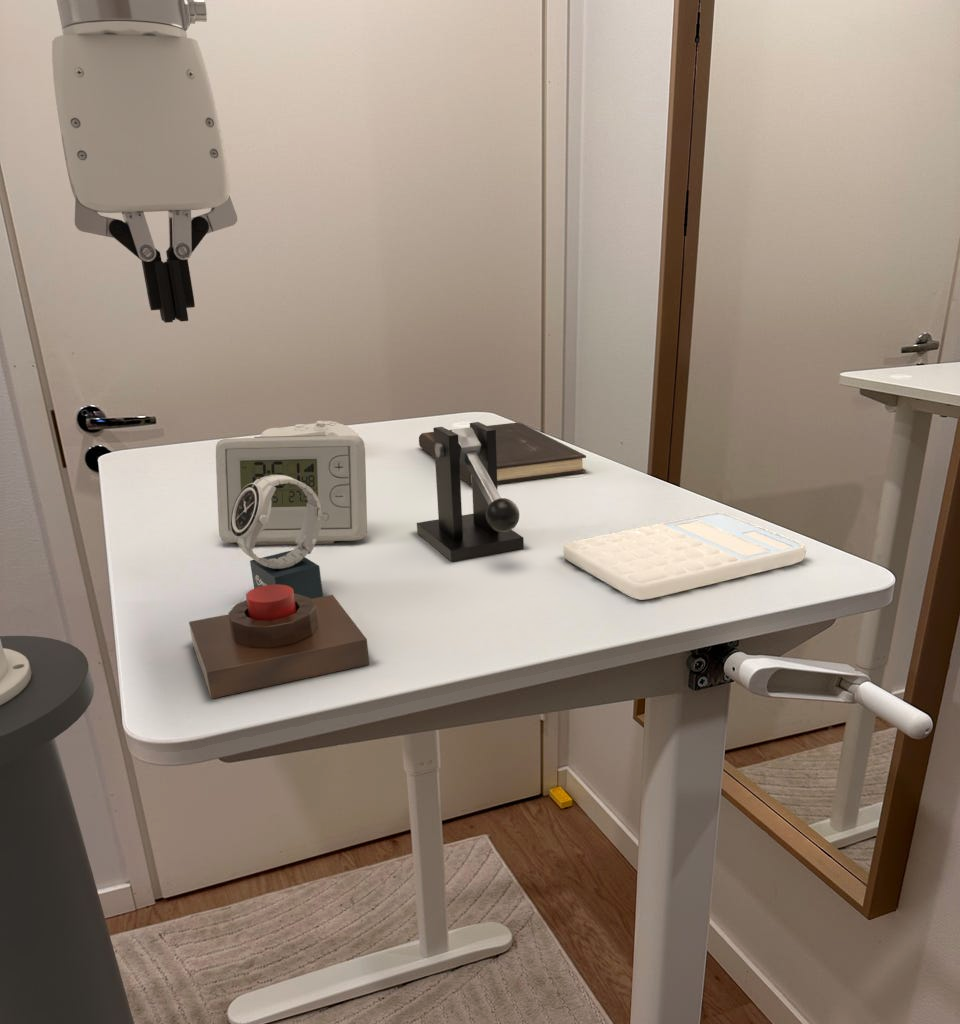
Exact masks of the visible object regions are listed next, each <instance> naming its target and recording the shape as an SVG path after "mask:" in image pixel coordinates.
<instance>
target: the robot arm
mask: <svg viewBox="0 0 960 1024" xmlns="http://www.w3.org/2000/svg"><path fill="white" fill-rule="evenodd" d="M56 4H57V5H56V6H57V11H58V16H59V20H60V26H61V30H62V34H61V35H58V36H55V37H54V38H53V40H52V41H51V48H52V49H51V56H52V59H51V60H52V61H51V62H52V76H53V88H54V96H55V104H56V111H57V116H58V117H57V118H58V123H59V130H60V135H61V143H62V147H63V154H64V159H65V166H66V172H67V177H68V180H69V184H70V188H71V193H72V195H73V198H74V226H75V228H76V229H77V230H78V231H79V232H84V233H88V234H93V235H98V236H103V237H108V238H113V239H114V240H116V241H117V242H118V243H119V244H121V245H122V246H123V247H125V248H126V250H128V251H129V252H130V253H132V254H133V255H134V256H135V257H137V259H139V260H140V261H141V266H142V271H143V278H144V282H145V289H146V294H147V300H148V304H149V308H150V311H159V314H160V317H161V318H160V319H161V321H162V322H164V323H165V324H167V323H173V322H174V321H176V320H177V321H180V322H189V314H188V309H189V308H191V309H192V308H195V305H196V304H195V296H194V290H193V284H192V278H191V272H190V266H189V259H190V258H191V256H192V254H193V252H194V251H195V250H196V249H197V247H198V245H199V244H201V242H202V240H203V239H204V238H205V236H206V235H207V234H210V233H215V232H217V231H220V230H223V229H226V228H229V227H232V226H234V225H236V224H237V223H238V214H237V212H236V209H235V206H234V204H233V202H232V198H231V196H230V193H231V184H230V183H231V182H230V174H229V168H228V162H227V156H226V155H227V154H226V150H225V145H224V140H223V136H222V131H221V125H220V121H219V116H218V111H217V107H216V103H215V98H214V93H213V89H212V85H211V81H210V77H209V75H208V71H207V70H208V69H207V68H206V64H205V61H204V58H203V54H202V51H201V49H200V45H199V42H198V41H197V40H196V39H194V38H192V37H188V34H187V33H188V32H187V30H188V29H189V28H190V26H191V25H194V24H196V22H202V23H203V22H205V23H206V22H207V19H208V14H207V5H206V0H56ZM205 209H206V210H207V209H210V210H209V211H208V212H205V213H202V214H199V215H196V216H193V217H192V211H197V210H198V211H199V210H205ZM152 212H153V213H155V212H167V213H168V215H167V216H168V248H167V250H166V251H165V254H166V261H163V260H162V255H161V251H159V250H158V249H157V248H156V247H155V243H154V240H153V238H152V234H151V231H150V228H149V225H148V222H147V218H146V216H145V213H152ZM100 213H101V214H102V213H104V214H117V213H118V214H119V213H121V215H122V218H123V220H121V219H117V218H113V217H108V216H103V215H101V214H100ZM31 674H32V672H31V668H30V664H29V661H28V660H27V658H26V657H25V656H24V655H22V654H21V653H19V652H16V651H13V650H10V649H5V648H3V647H2V644H1V640H0V706H1V705H3V704H5V703H6V702H8V701H10V700H11V699H12V698H14V697H15V696H17V695H18V694H19V693H20V692H21V691H22V690H23V689H24V688H25V687H26V686H27V684H28V683H29V681H30V679H31Z"/></svg>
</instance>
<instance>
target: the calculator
mask: <svg viewBox="0 0 960 1024" xmlns="http://www.w3.org/2000/svg"><path fill="white" fill-rule="evenodd" d="M562 551H563V552H562V553H563V557H564V558H565V559H566V561H568V562H569V563H571V564H573V565H574V566H576V567H578V568H580V569H581V570H583V571H585V572H586V573H588V574H589V575H592V576H593V577H595V578H596V579H599V580H601V582H604V583H606V584H607V585H608V586H610V587H613V588H614V589H615V590H617V591H619V592H620V593H623V594H624V595H626V596H628V597H630V598H632V599H635V600H637V601H638V600H640V601H644V600H651V599H655V598H659V597H665V596H668V595H672V594H677V593H680V592H684V591H689V590H692V589H693V590H694V589H696V588H701V587H704V586H709V585H713V584H718V583H721V582H725V581H729V580H733V579H739V578H742V577H747V576H750V575H754V574H759V573H762V572H766V571H771V570H776V569H779V568H782V567H783V568H784V567H787V566H792V565H795V564H798V563H802V561H803V560H804V559H805V558H806V555H807V547H806V545H805V544H804V543H802V542H801V541H798V540H796V539H793V538H791V537H788V536H785V535H783V534H781V533H778V532H776V531H773V530H770V529H767V528H765V527H763V526H760V525H758V524H755V523H752V522H749V521H748V520H744V519H742V518H739V517H737V516H734V515H732V514H729V513H725V512H710V513H705V514H699V515H694V516H690V517H685V518H680V519H676V520H670V521H664V522H660V523H656V524H651V525H645V526H641V527H636V528H632V529H626V530H622V531H617V532H612V533H607V534H602V535H597V536H592V537H587V538H583V539H582V538H581V539H577V540H572V541H568V542H567V543H565V544H564V545H563V550H562Z"/></svg>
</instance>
